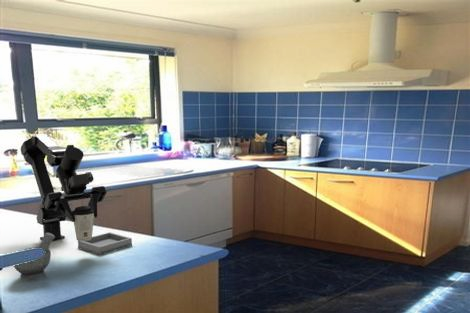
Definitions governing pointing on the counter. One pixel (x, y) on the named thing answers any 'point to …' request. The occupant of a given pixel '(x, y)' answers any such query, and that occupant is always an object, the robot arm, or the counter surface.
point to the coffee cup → (83, 222)
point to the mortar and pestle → (36, 262)
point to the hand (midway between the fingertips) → (85, 219)
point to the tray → (105, 243)
